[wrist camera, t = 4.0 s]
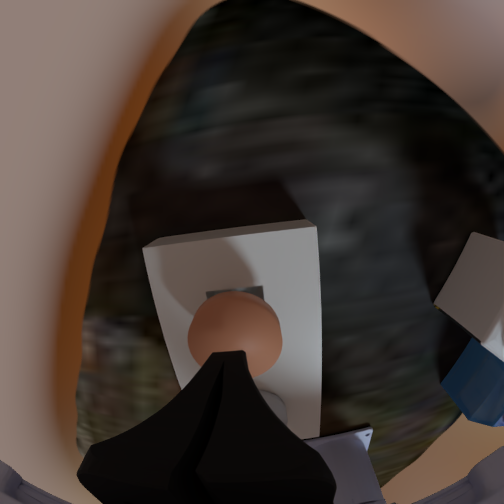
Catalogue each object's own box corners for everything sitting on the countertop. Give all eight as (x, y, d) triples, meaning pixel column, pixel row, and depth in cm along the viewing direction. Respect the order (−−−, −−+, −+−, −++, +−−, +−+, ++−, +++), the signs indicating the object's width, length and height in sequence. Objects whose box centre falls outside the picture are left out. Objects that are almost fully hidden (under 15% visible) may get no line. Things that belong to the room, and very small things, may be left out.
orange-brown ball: (279, 337, 17) (285, 375, 13) (208, 344, 17) (198, 382, 13) (272, 269, 16) (278, 295, 12) (194, 278, 16) (178, 306, 12)
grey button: (284, 404, 20) (288, 438, 17) (230, 409, 21) (227, 442, 17) (280, 364, 19) (286, 398, 16) (220, 369, 20) (215, 403, 16)
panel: (313, 412, 22) (319, 436, 19) (207, 421, 22) (203, 445, 19) (306, 219, 17) (316, 226, 15) (158, 237, 18) (142, 248, 15)
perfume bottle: (440, 383, 21) (496, 459, 10) (473, 334, 20) (545, 399, 8) (466, 389, 22) (515, 451, 10) (495, 345, 21) (556, 400, 9)
